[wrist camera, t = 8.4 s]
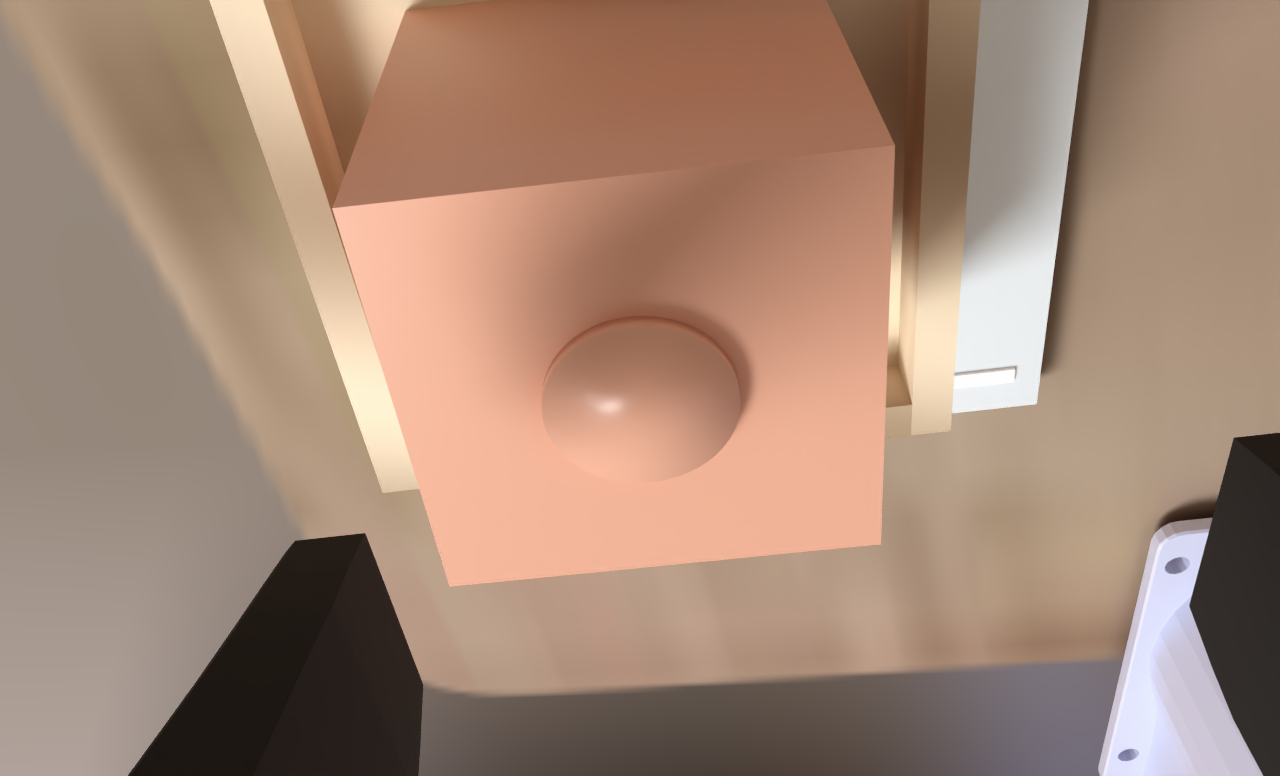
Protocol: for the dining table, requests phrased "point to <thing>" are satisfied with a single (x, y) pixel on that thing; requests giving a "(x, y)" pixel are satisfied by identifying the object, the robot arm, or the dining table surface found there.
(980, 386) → the white board
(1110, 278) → the dining table surface
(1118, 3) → the dining table surface
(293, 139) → the birch tray
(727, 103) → the terracotta block
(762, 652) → the dining table surface
